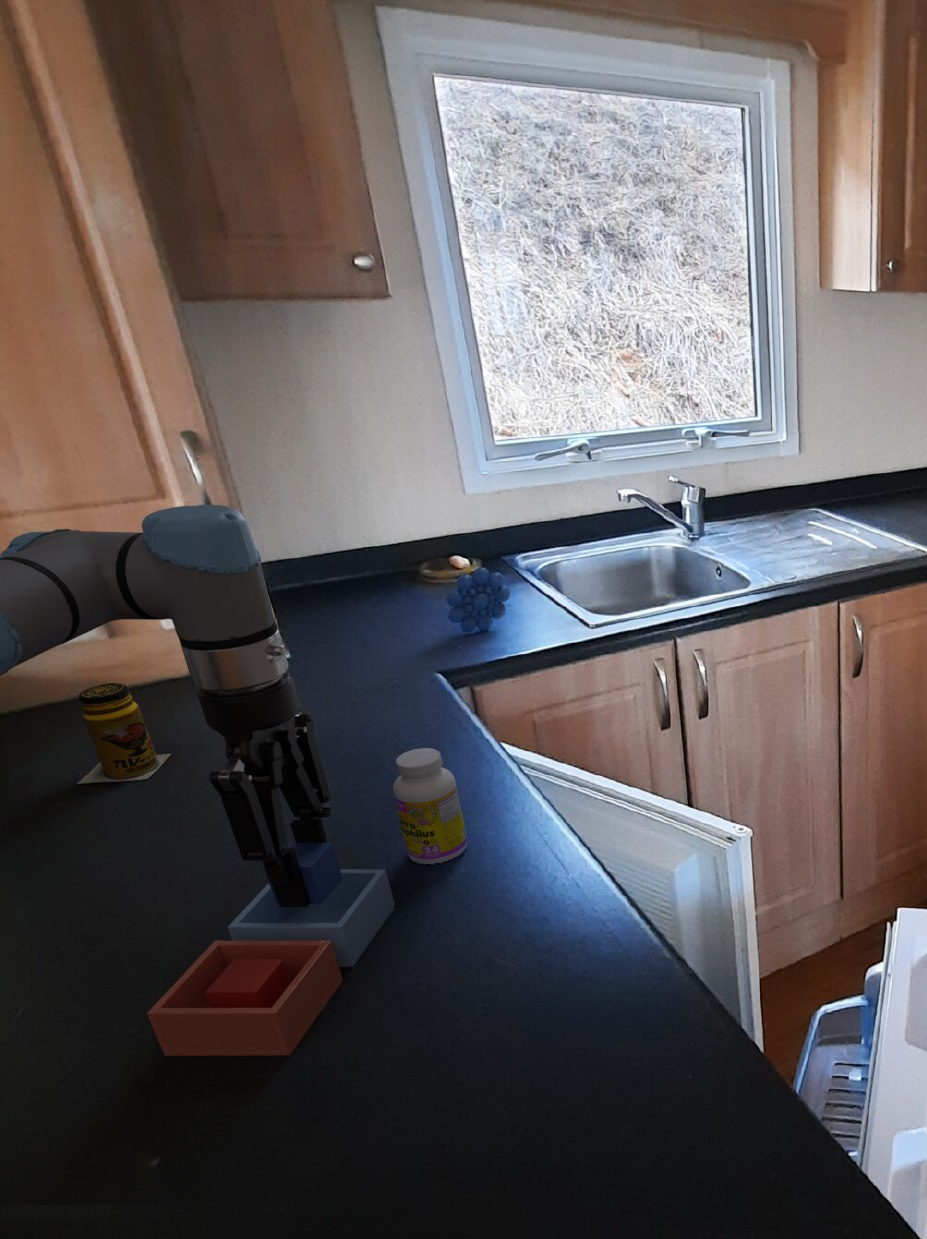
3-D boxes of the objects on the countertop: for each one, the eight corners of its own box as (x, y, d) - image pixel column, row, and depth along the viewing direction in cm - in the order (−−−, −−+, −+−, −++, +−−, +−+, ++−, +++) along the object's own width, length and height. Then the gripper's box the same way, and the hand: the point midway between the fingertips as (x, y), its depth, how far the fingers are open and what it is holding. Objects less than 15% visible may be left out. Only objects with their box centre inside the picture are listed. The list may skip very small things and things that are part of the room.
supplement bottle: (395, 859, 114) (371, 764, 108) (438, 832, 120) (417, 739, 114) (440, 872, 112) (418, 775, 106) (481, 843, 118) (462, 750, 112)
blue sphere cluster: (507, 618, 189) (497, 558, 183) (519, 628, 184) (509, 566, 179) (445, 630, 182) (433, 568, 177) (456, 640, 178) (444, 577, 172)
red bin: (164, 1056, 86) (146, 1013, 84) (229, 980, 95) (214, 940, 93) (290, 1055, 87) (275, 1013, 84) (343, 980, 95) (331, 940, 93)
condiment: (148, 779, 130) (118, 698, 125) (76, 785, 128) (43, 703, 123) (172, 755, 136) (144, 676, 131) (104, 759, 135) (73, 680, 129)
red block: (219, 1030, 88) (204, 992, 86) (247, 996, 92) (233, 959, 90) (269, 1029, 89) (256, 991, 87) (294, 996, 93) (282, 959, 91)
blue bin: (241, 967, 97) (227, 927, 95) (293, 906, 106) (281, 868, 104) (352, 967, 97) (341, 927, 95) (395, 907, 106) (385, 869, 104)
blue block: (276, 904, 97) (263, 867, 95) (299, 878, 101) (287, 842, 99) (321, 904, 97) (310, 867, 95) (343, 878, 101) (332, 842, 99)
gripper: (230, 721, 81) (301, 944, 91) (332, 645, 96) (383, 842, 107) (138, 721, 80) (220, 944, 91) (255, 644, 96) (314, 842, 107)
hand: (308, 889), depth 99 cm, fingers closed on blue block, 4 cm apart
